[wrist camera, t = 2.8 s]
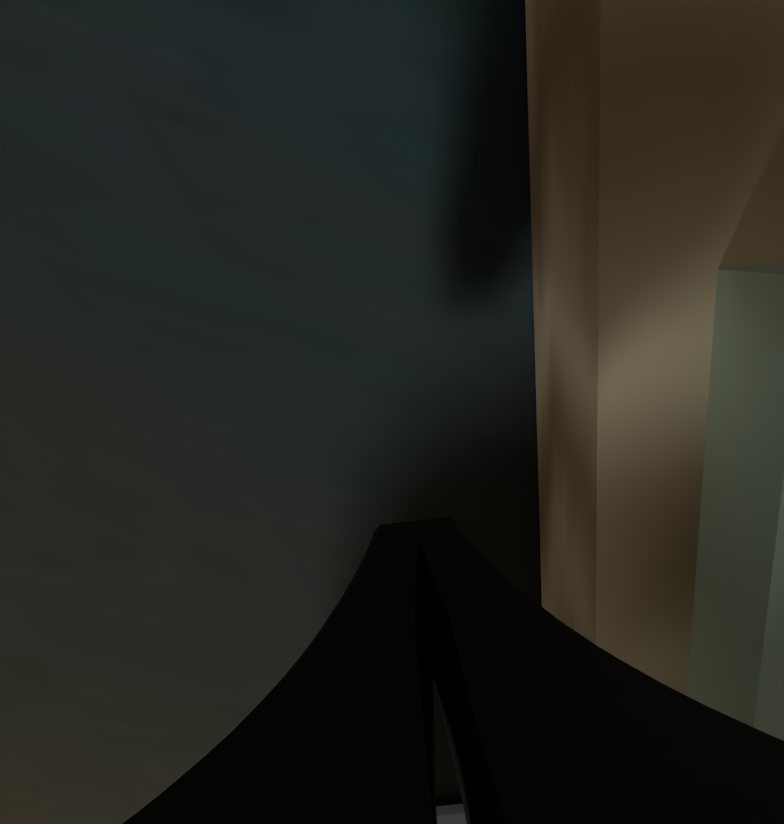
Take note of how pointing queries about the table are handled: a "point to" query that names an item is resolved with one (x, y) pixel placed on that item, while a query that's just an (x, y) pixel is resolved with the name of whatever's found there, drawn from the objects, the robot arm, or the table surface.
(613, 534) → the riser
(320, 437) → the table surface
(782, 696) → the tile
